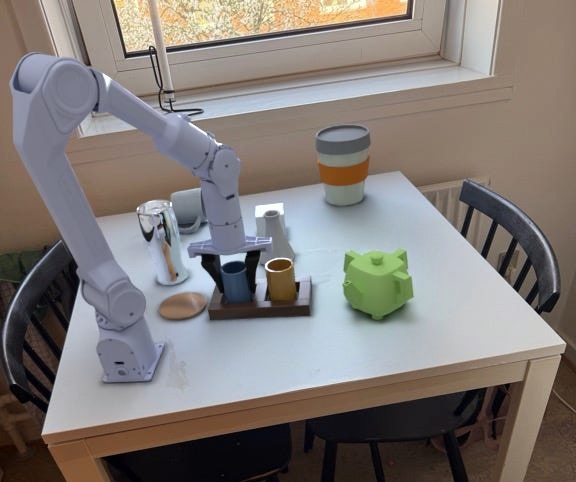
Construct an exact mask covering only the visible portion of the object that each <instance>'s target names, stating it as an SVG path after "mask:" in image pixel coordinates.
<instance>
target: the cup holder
mask: <svg viewBox="0 0 576 482" xmlns="http://www.w3.org/2000/svg"><path fill="white" fill-rule="evenodd" d="M295 280H296V290H297V293H298V296H297V300H279V301H270V300H269V293H268V286H267V279H266V277H265V278H264V277H263V278H256V287H255V291H254V292H253V297H254V301H253V302H240V303H226V299H225V294H224V293H220V292H219V289H218V287H217V285H216V284H215V285H214V288H213V290H212V291H213V292H212V295H211V297H210V301H209V304H208V308H207V314H208V319H209V321H220V320H221V321H222V320H223V321H224V320H241V319H243V320H244V319H245V320H246V319H262V318H263V319H264V318H282V317H285V318H286V317H305V316H306V317H307V316H311V307H312V306H311V305H312V291H313V290H312V289H313V282H312V275H299V276H296V275H295Z"/></svg>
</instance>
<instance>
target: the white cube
mask: <svg viewBox="0 0 576 482" xmlns="http://www.w3.org/2000/svg"><path fill="white" fill-rule="evenodd" d="M254 210H255V211H254V212H255V213H254V214H255V215H254V219H255V225H256V232H257V237H261V238H265V234H266V221H265V218H264V217H263V214H264V212H266V211H268V210H277V211H280V215H279V220H280V224H281V227H282V230H283V232H284V234H285V236H286V237H287V227H286V218H285V209H284V203H283V202H278V203H271V204H270V203H269V204H262V205H255V209H254Z"/></svg>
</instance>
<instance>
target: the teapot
mask: <svg viewBox="0 0 576 482" xmlns="http://www.w3.org/2000/svg"><path fill="white" fill-rule="evenodd" d="M342 269H343V270H342V271H343V272H344V273H345V276H344V280H343V282H342V283H341V285H342V288H343V289H342V290H343V291H342V292H343V296H344V298H345V300H346V301H347V302H348V303H349V304H350V305H351V308H352V309H353V310H359V311H361V312H364V313H365V314H369V315H371V318H372V319H373V320H375V321H377V320H378V321H379V320H382V319H383V318H384V316H386V315H389V314H390V313H392V312H395V311H396V310H398V309H399V308H401V307H403V305H404V304H406V303H407V302H408V301H410V300H411V299H413V298H414V296H415V295H414V286H413V277H412V276H413V275H410V274H409V271H408V270H409V260H408V251H407V250H405V249H403V248H398V249H396V250H394V251H393V252H391V253H388V252H384V251H381V250H376V249H375V250H370V251H367V252H365V253H363V254H361V253H358V252H357V251H354V250H352V249H351V250H348V251H347V252H345V253H344V260H343V268H342Z"/></svg>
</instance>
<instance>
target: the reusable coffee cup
mask: <svg viewBox="0 0 576 482" xmlns="http://www.w3.org/2000/svg"><path fill="white" fill-rule="evenodd" d="M314 141H315V144H314V145H315V147H314V149H315V150H316V152H317V161H316V162H317V167H318V172H319V177H320V181H321V182H322V184H323V190H324V195H325V200H326V202H327V203H328V204H330V205H333V206H339V207H340V206H341V207H342V206H351V205H356V204H358V203H359V202H361V201H362V200H363V199H364V194H365V185H366V179H367V178H368V175H369V166H370V154H369V149H370V146H371V144H372V142H371V134H370V129H369V128H368V127H367V126H364V125H362V124H356V123H355V124H353V123H348V124H347V123H346V124H336V125H331V126H327V127H324V128H322V129H319V131H317V132H316V133H315V140H314Z"/></svg>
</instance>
